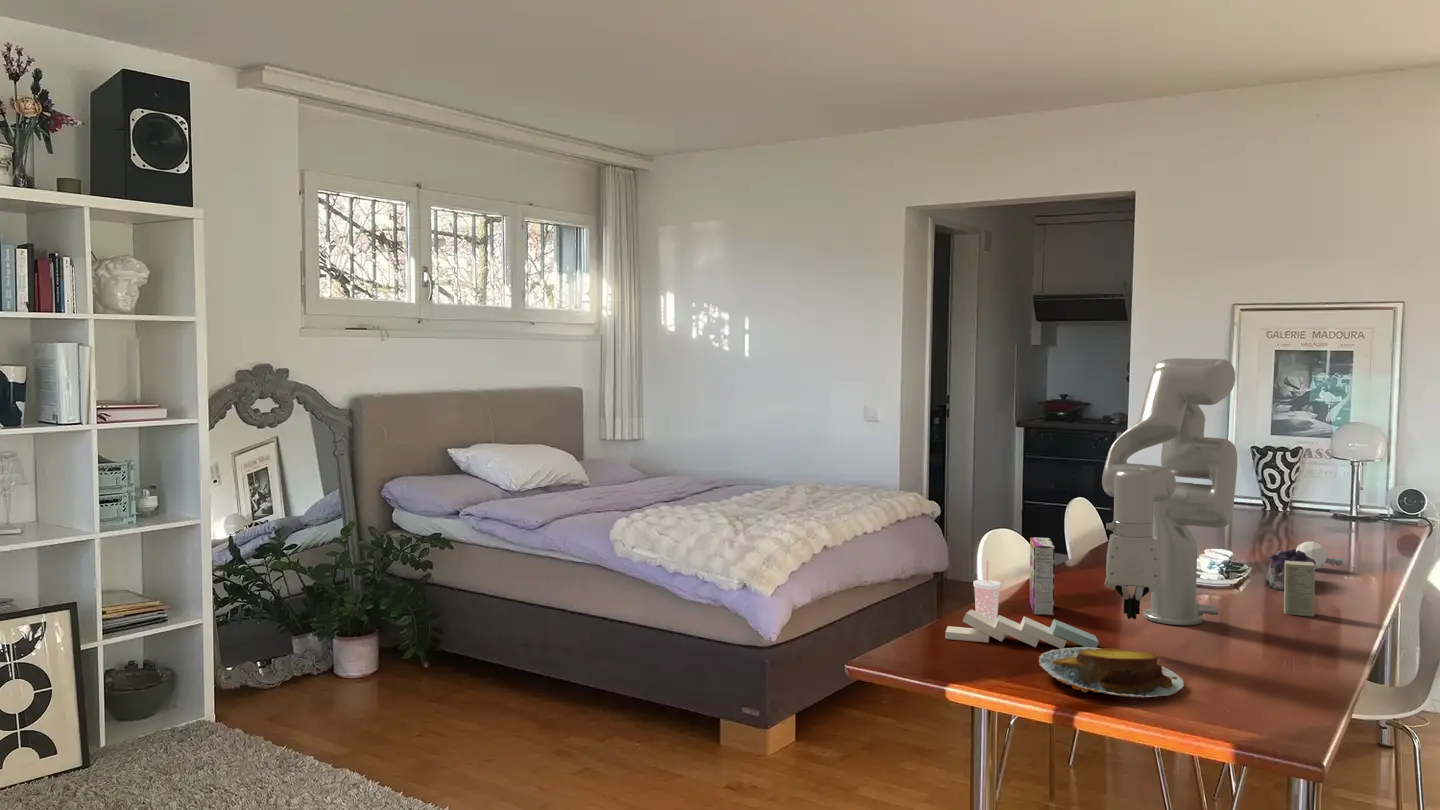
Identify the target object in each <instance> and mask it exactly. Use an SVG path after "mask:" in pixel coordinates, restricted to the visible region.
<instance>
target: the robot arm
mask: <svg viewBox="0 0 1440 810" xmlns="http://www.w3.org/2000/svg"><path fill="white" fill-rule="evenodd" d="M1152 369H1153V370H1152V374H1151V375H1150V379H1149V383H1148V385H1147V389H1146V394H1145V397H1144V402H1143V405H1142V408H1141V412H1140V416H1139V420H1138V421H1137V422H1136V423H1135V424H1133V425H1132V426H1130V427H1128V428H1127V429H1126V430H1125V431H1124V432H1123V433H1122V434H1120V435H1119V436H1118V437H1117V439H1115V440H1114V442H1113V443H1112V444H1111V446H1110V447H1109V449H1108V452H1107V456H1106V458H1105V459H1106V460H1105V463H1104V466H1103V472H1102V475H1101V476H1102V477H1101V479H1102V480H1101V485H1102V489H1103V491H1104V493H1106V495H1108V496H1109V497H1112V498H1113V520H1112V521H1111V522H1106V523H1105V525H1106V526H1105V527H1106V528H1105V529H1106V530H1110V531H1111V532H1113V533H1111V534H1110V535H1109V539H1108V544H1107V551H1106V561H1105V562H1106V563H1105V576H1106V577H1105V581H1104V583H1103V584H1104V587H1105V588H1106V589H1110V590H1112V591H1116V592H1117V593H1118V594H1119V596H1121V597H1122V598H1123V614H1124V615H1125V614H1126V617H1127V619H1128V620H1131V619H1132V620H1137V615H1140V613H1141V612H1140V611H1141V608H1140V607H1141V605H1140V604H1141V601H1142V599H1143V598H1144V597H1145V596H1146V595H1147V594H1148V593H1150V607H1149V608H1145V609H1144V610H1143V611H1142V614H1143V617H1144V618H1145V619H1147V620H1150V621H1152V622H1156V623H1160V624H1165V625H1172V626H1174V625H1175V626H1194V625H1195V626H1196V625H1199V624H1202V623H1203V622H1204V621H1203V619H1204V617H1203V616H1204V615H1211V616H1219V607H1218V606H1215V605H1214V606H1213V605H1211V604H1201V603H1199V602H1198V600H1197V575H1198V574H1197V573H1198V571H1197V569H1198V568H1197V567H1198V544H1197V543H1198V542H1197V541H1196V538H1195V536H1194V534H1193V533H1192V532H1191V531H1190V529H1189V528H1188V526H1189V527H1190V526H1195V527H1203V528H1205V527H1206V528H1214V529H1215V528H1217V529H1218V528H1219V529H1221V528H1222V529H1223V528H1225V527H1227V526H1228V525H1229V524H1230V523H1231V521H1232V517H1233V513H1234V505H1235V497H1236V495H1235V493H1236V483H1237V474H1238V451H1237V448H1236V446H1235V444H1234V443H1233V442H1232V441H1230V440H1229V439H1227V438H1221V437H1207V436H1206V437H1205V427H1206V426H1205V424H1206V415H1205V413H1204V411H1203V410H1202V408H1201V407H1200V406H1213V405H1216V404H1218V403H1220V402H1221V401H1222V400H1223V399H1225V398H1226V397H1227V396H1229V395H1230V394H1231V392H1232V390H1233V388H1234V386H1235V383H1236V370H1235V367H1234V365H1233V364H1232V362H1231V361H1229V360H1227V359H1224V358H1222V359H1221V358H1189V357H1188V358H1179V357H1178V358H1168V359H1167V358H1166V359H1163V360H1160V361H1158V362H1156V363H1155V365H1154V366H1153V368H1152ZM1160 444H1161V445H1162V446H1161V447H1162V448H1161V459H1160V465H1156V464H1155V465H1154V464H1152V465H1151V464H1142V463H1141V464H1140V463H1130V462H1126V461H1127V460H1128V459H1130V457H1131V456H1133V455H1134V454H1136V453H1138V452H1140V451H1142V450H1145V449H1148V448H1150V447H1154V446H1157V445H1160ZM1175 477H1177V478H1186V479H1187V478H1188V479H1200V480H1201V479H1203V480H1209V481H1211V484H1205V483H1203V484H1202V483H1194V482H1179V481H1176V478H1175ZM1129 587H1135V589H1134V593H1133V595H1132V596H1131V594H1130V593H1129V592H1130V591H1129Z"/></svg>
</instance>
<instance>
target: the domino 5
mask: <svg viewBox="0 0 1440 810" xmlns="http://www.w3.org/2000/svg"><path fill="white" fill-rule="evenodd" d="M1049 627H1050V628H1051V631H1052V633H1053V634H1054V635H1057V636H1059V637H1062V638H1064V639H1066V640H1067V641H1068V642H1072V643H1074V644H1077V645H1079V646H1081V647H1091V648H1098V646H1099V643H1100V642H1099V639H1098V638H1097V636H1096V635H1094V634H1092V633H1090V632H1088V631H1084V630H1082V629H1079V628H1077V627H1074V626H1072V625H1070V624H1067V623H1065V622H1062V621H1060V620H1057V619H1055V618H1054V619H1053V620H1052V621H1051V625H1050V626H1049Z"/></svg>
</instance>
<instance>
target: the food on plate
mask: <svg viewBox="0 0 1440 810" xmlns="http://www.w3.org/2000/svg"><path fill="white" fill-rule="evenodd" d="M1037 658H1039V659H1038V665H1039V666H1040V667H1041V668H1042V669H1043V670H1045V672H1047V673H1048V674H1049V675H1051V678H1055V679H1056V680H1057V681H1059V682H1060V683H1063V684H1066V685H1068V686H1071V688H1072V689H1073V690H1077V691H1079V690H1080V691H1081V692H1083V693H1087V692H1089V691H1091V692H1093V693H1099V694H1101V693H1102V694H1104V695H1111V696H1112V695H1113V696H1117V697H1121V698H1122V697H1126V698H1140V699H1145V698H1152V697H1153V698H1158V697H1162V696H1165V697H1168V696H1171V695H1173V694H1176V693H1178V692H1179V691H1180V690H1181V689H1183V687H1185V680H1184V679H1183V678H1182V677H1180V676H1179V675H1178V674H1177V673H1175V672H1174V671H1173V670H1170V669H1168V668H1167V667H1164V666H1163V665H1161V664H1160V663H1159V662H1158V656H1157V655H1156V654H1155V653H1154V652H1148V651H1146V652H1145V651H1138V650H1135V651H1134V650H1123V649H1119V648H1110V647H1109V648H1107V647H1106V648H1100V647H1099V648H1098V647H1097V648H1091V647H1084V646H1081V647H1064V648H1061V649H1060V648H1056V649H1051V650H1049V651H1046V652H1042V653H1041V654H1040V655H1038V656H1037ZM1175 678H1176V679H1175Z"/></svg>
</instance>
